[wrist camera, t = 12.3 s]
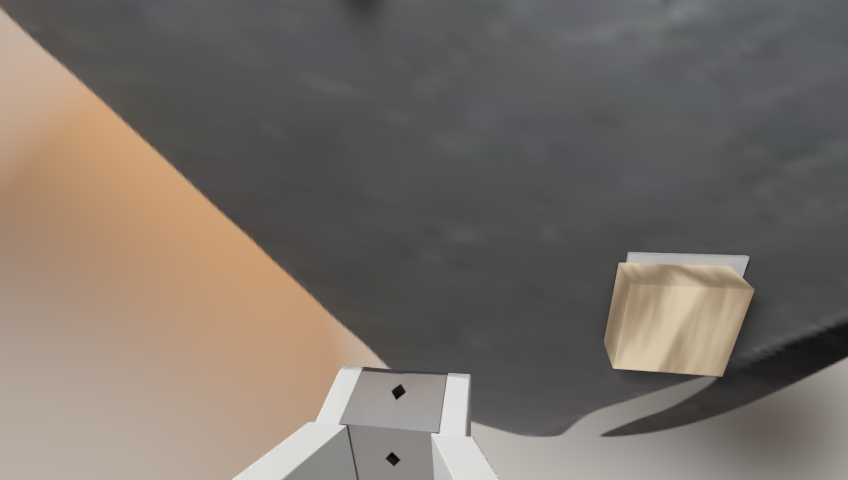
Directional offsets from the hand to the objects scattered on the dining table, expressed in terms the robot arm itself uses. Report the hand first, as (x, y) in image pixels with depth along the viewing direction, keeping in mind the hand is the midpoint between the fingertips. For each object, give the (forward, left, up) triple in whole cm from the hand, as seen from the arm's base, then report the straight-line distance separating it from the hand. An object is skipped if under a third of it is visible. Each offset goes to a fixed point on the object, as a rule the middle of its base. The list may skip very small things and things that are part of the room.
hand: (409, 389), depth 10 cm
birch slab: (-14, +18, -29) cm, 37 cm away
